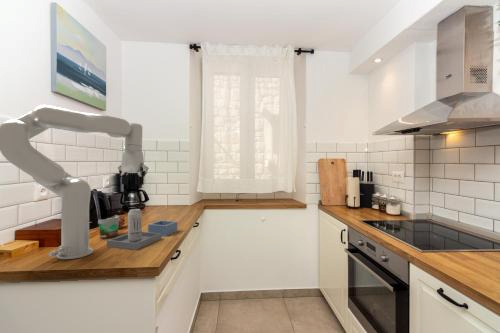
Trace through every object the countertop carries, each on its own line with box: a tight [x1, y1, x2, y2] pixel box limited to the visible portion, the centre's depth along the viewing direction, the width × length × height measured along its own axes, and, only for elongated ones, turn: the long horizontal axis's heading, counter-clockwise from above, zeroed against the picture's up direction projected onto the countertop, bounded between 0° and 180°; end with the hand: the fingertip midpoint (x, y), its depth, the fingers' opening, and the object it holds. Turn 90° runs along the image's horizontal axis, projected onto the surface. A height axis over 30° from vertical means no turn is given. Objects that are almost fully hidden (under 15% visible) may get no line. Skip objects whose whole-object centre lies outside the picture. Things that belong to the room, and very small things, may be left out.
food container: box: [97, 214, 120, 240], centre depth 132 cm, size 12×6×10 cm, turn 168°
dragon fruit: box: [110, 214, 126, 230], centre depth 149 cm, size 8×8×12 cm
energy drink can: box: [127, 208, 143, 242], centre depth 122 cm, size 6×6×15 cm
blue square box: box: [147, 220, 178, 237], centre depth 140 cm, size 11×11×6 cm
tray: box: [106, 231, 162, 251], centre depth 122 cm, size 18×16×3 cm
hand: (132, 184), depth 123 cm, fingers open, 9 cm apart
